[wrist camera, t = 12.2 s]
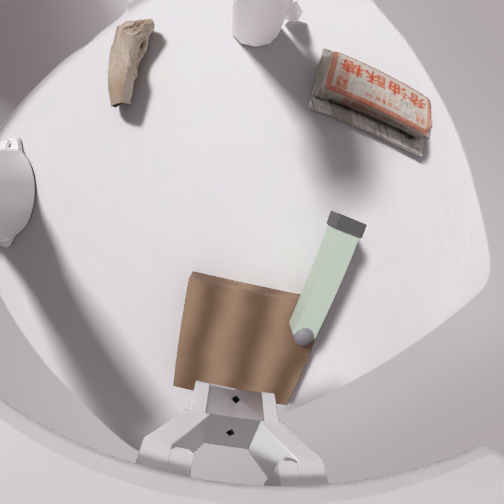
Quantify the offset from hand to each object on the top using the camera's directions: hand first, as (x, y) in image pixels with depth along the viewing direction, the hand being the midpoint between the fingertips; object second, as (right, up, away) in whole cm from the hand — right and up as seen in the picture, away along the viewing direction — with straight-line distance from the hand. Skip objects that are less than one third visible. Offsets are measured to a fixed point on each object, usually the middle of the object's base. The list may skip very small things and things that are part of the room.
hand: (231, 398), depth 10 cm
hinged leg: (+9, +2, +24) cm, 26 cm away
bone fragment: (-15, +31, +20) cm, 40 cm away
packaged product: (+18, +26, +23) cm, 39 cm away
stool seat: (0, -7, +30) cm, 31 cm away
